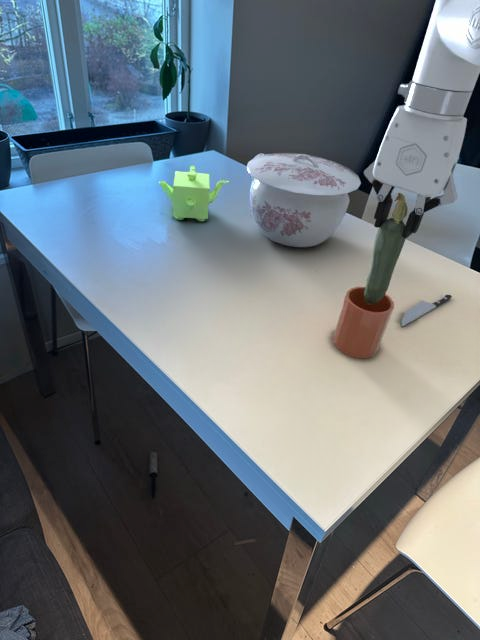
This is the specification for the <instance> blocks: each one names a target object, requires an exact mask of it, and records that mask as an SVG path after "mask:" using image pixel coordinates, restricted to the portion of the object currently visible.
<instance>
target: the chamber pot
mask: <svg viewBox="0 0 480 640" xmlns="http://www.w3.org/2000/svg"><path fill="white" fill-rule="evenodd" d="M246 170H247V171H248V173H249V175H250V179H251V184H250V190H249V207H250V208H249V209H250V214H251V216H252V218H253V220H254V222H255V224H256V227H257V228H258V230H259V232H260V233H261V234H262V235H263V236H264V237H265V238H266V239H268V240H269V241H271V242H274V243H276V244H279V245H283V246H287V247H292V248H293V247H294V248H310V247H315V246H318V245H320V244H322V243H324V242H326V241H327V240H328V239H329V238H330V237H331V236H332V235H333V234H334V233H336V231H337V230H338V229H339V228H340V227H341V224H342V222H343V220H344V218H345V216H346V214H347V212H348V209H349V205H350V202H351V200H350V196H349V193H350V194H351V192H353V191H356V190H358V189H359V187H360V186H361V184H362V182H361V179H360V177H359V175H358V174H356V172H354V171H353V170H352V169H351V168H349V167H346V166H344V165H343V164H341V163H338V162H336V161H333V160H330V159H327V158H324V157H319V156H315V155H311V154H305V153H295V152H278V153H267V154H265V153H263V152H262V153H259V154H256V155H255V157H253V158H252V159H251V160H249V161H247V165H246Z"/></svg>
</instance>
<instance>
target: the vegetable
mask: <svg viewBox="0 0 480 640" xmlns="http://www.w3.org/2000/svg"><path fill="white" fill-rule="evenodd" d="M393 202H396V204H395V206H394V209H393V211H392V213H391V217H390V218H387V220H386V221H384V222H383V223H382V224H381V226H380V227H378V228H377V231H376V234H375V238H374V244H373V249H372V261H371V266H370V269H369V270H370V271H369V273H368V277H367V278H366V279H367V280H366V284H365V286H364V287H365V291H364V296H365V302H367V304H368V305H371V304H374V303H377V302H379V301H381V299H382V298H383V297H384V295H385V294H387V291H388V289H389V287H390V283H391V280H392V276H393V273H394V270H395V268H396V265H397V262H398V260H399V258H400V256H401V253H402V250H403V247H404V244H405V242H406V239H407V238H403V236H402V234H403V231H404V228H405V225H406V223H404V219H405V218H406V217H407V216H408V210H409V209H408V205H407V204H408V203H407V202H406V198H405V195H404V194H403V193H402V192H398V193H397V196H396V197H395V200H393Z"/></svg>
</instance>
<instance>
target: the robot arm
mask: <svg viewBox="0 0 480 640" xmlns="http://www.w3.org/2000/svg"><path fill="white" fill-rule="evenodd" d="M479 75H480V0H435V2H434V5H433V10H432V12H431V15H430V18H429V22H428V26H427V29H426V33H425V35H424V39H423V42H422V46H421V49H420V52H419V55H418V59H417V62H416V66H415V69H414V72H413V76H412V80H410V81H409V83H401V84H400V85H399V87H398V90H397V95H400V96H402V97H403V98H404V101H403V103H404V104H402V105H398V106H397V107H396V109H395V111H394V113H393V116H392V117H391V120H390V121H389V123H388V125H387V129H386V131H385V134H384V136H383V139H382V142H381V144H380V146H379V150H378V153H377V155H376V158H375V160H374V161H373V162H372V163H370V164H369V166H368V167H367V168H365V169H364V171H363V176H364V177H365V178H366V179H367V180H368V182H369V183H371V186H372V188H373V190H374V192H375V194H376V200H377V201H378V203H377V206H376V209H375V212H374V216H373V219H374V220H375V222H374V225H373V227H375V228H377V229H379V227H380V226H381V224H382V223H383V222H384V221H386V220H387V219H389V218H388V217H389V215H390V212H391V209H392V206H393V202H394V200H393V198H392V197H393V196H392V195H393V193H394V191H395V189H396V188H398V189H400V190H403V191H405V192H409V193H413V194H415V195H416V199H415V200H416V201H415V206H414V207H413V210H412V211H411V212H409V214H408V217H407V220H406V222H405V228H404V231H403V234H402V236H403V238H406V239H408V238H409V237H410V236H412V234H416V233H417V232H418V230H419V228H420V225H421V223H422V220H423V217H424V215H425V213H426V212H429V211H431V210H433V209H435V208H438V207H443V206H445V205H450V204H453V203H455V202H456V201H457V200H458V192H457V188H456V183H455V179H454V173H455V170H456V167H457V164H458V160H459V158H460V153H461V150H462V146H463V142H464V139H465V135H466V128H467V122H468V118H467V117H464V116H465V113H466V110H467V108H468V104H469V102H470V99H471V97H472V94H473V91H474V88H475V86H476V83H477V81H478V78H479ZM442 192H443V194H441V193H442ZM440 194H441V195H440Z"/></svg>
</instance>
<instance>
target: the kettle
mask: <svg viewBox="0 0 480 640" xmlns="http://www.w3.org/2000/svg"><path fill="white" fill-rule="evenodd" d="M173 177H174V178H173V183H172V186H170V184H168V182H166V180H161V181H160V180H159V182H158V184H159V186H160V187H161V189H162V191H164V193H165V194H166V195H167V197H168V198H169V199H170V201H171V203H172V217H173V218H175V220H179V221H182V220H184V219H185V218H186V219H196V221H197V222H205V221H206V220H208V219H209V205H210V204H212V203H214V201H215V200H216V199H217V197H218V196H219V193H220V190H221V188H222V187H223V185H225V184H228V183H229V182H230V181H229V180H219V181H217V183H216V184H215V186H214V188H213V190H211V191H210V189H211V188H210V184H211V183H210V182H211V181H210V173H204V172H203V173H202V172H196V166H195V165H194V164H191V166H190V167H189V171H179V170H176V171H174V176H173Z"/></svg>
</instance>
